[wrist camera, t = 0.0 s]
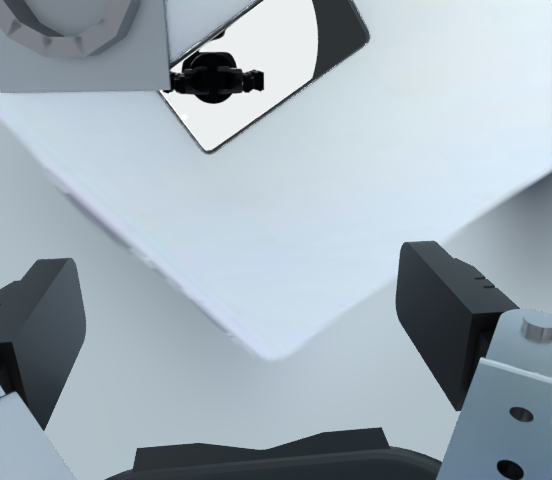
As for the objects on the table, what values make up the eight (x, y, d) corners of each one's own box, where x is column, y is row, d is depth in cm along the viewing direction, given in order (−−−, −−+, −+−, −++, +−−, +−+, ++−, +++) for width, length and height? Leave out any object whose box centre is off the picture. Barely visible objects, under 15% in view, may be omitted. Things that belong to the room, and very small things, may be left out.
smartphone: (375, 39, 38) (206, 159, 40) (371, 39, 39) (206, 156, 41) (326, -54, 35) (147, 80, 37) (322, -51, 36) (148, 79, 38)
